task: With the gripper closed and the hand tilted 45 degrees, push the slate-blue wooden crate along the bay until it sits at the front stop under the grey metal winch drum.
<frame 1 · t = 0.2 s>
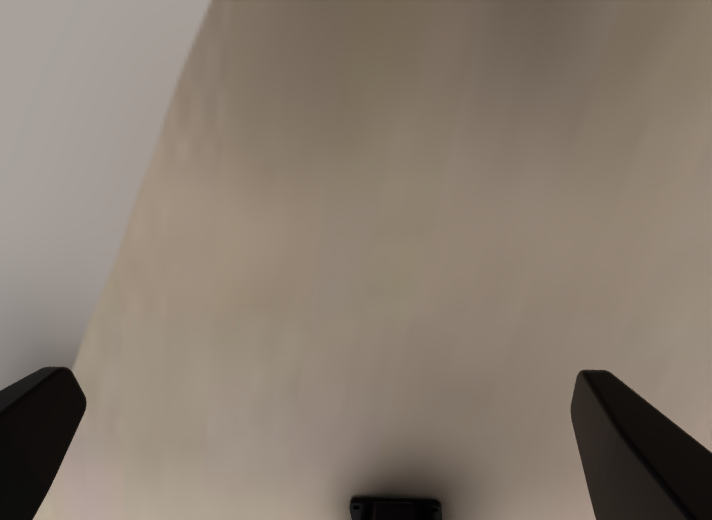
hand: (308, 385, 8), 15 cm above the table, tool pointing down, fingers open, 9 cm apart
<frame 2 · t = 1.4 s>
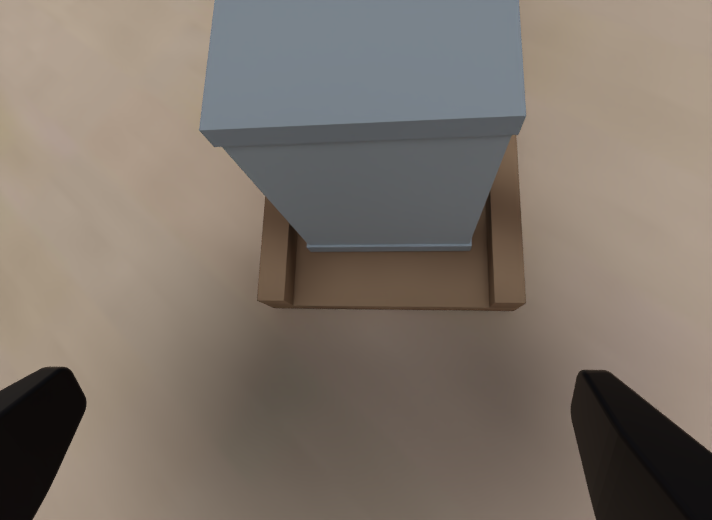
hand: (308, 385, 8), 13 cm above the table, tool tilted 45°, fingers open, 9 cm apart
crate: (379, 126, 16), point 7 cm above the table, slide at 0.0 cm
bay: (392, 124, 24), on the table
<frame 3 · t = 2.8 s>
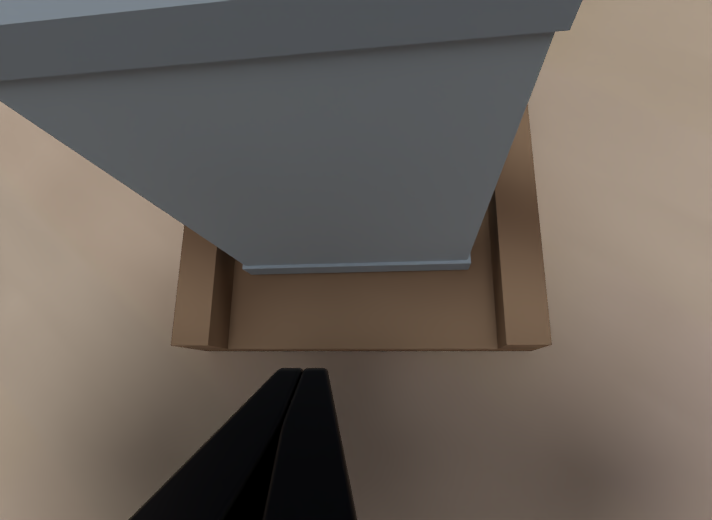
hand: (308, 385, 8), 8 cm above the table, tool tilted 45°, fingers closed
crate: (325, 86, 11), point 7 cm above the table, slide at 0.0 cm
bay: (362, 106, 18), on the table
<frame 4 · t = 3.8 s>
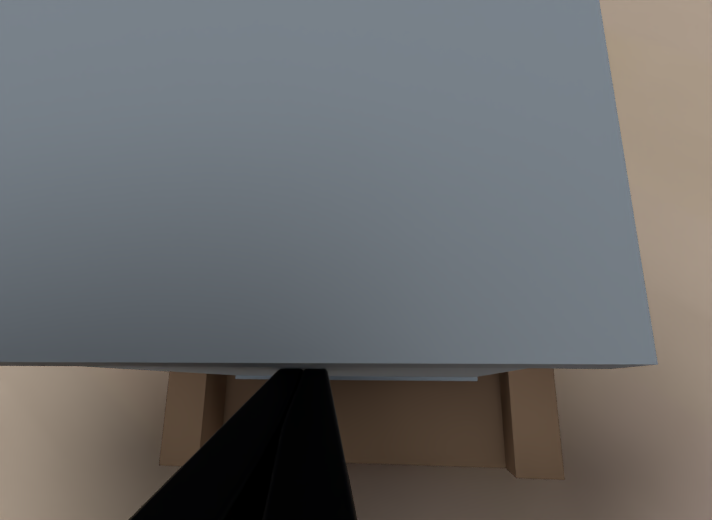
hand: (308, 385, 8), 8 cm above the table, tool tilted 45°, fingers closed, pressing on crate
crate: (322, 227, 10), point 7 cm above the table, slide at 0.0 cm, touching gripper
bay: (362, 187, 17), on the table
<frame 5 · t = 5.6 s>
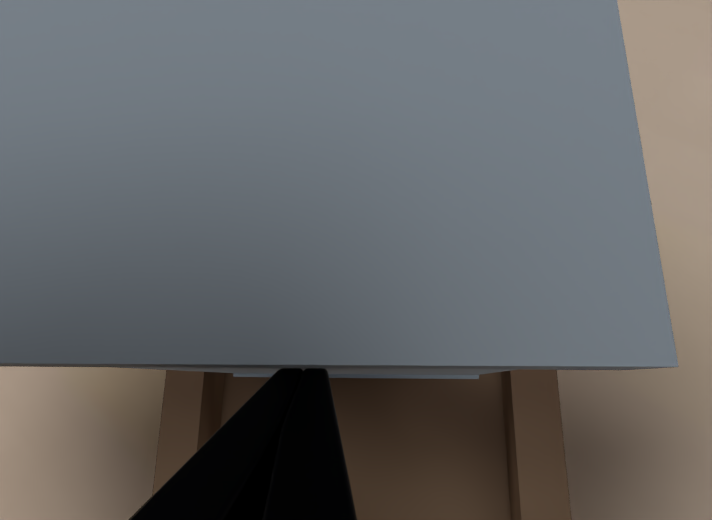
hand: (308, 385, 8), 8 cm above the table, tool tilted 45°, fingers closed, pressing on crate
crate: (321, 222, 10), point 7 cm above the table, slide at 7.6 cm, touching gripper
bay: (361, 393, 15), on the table
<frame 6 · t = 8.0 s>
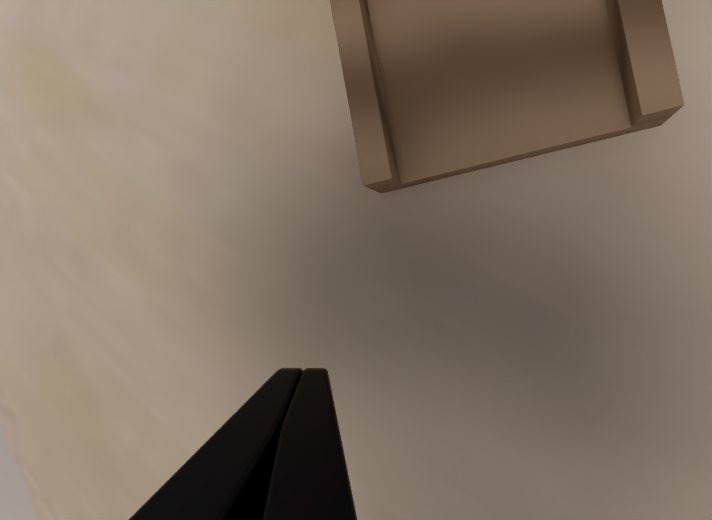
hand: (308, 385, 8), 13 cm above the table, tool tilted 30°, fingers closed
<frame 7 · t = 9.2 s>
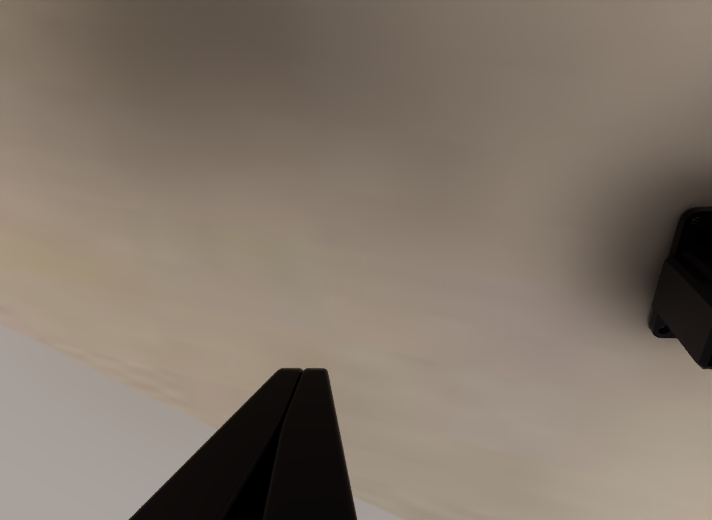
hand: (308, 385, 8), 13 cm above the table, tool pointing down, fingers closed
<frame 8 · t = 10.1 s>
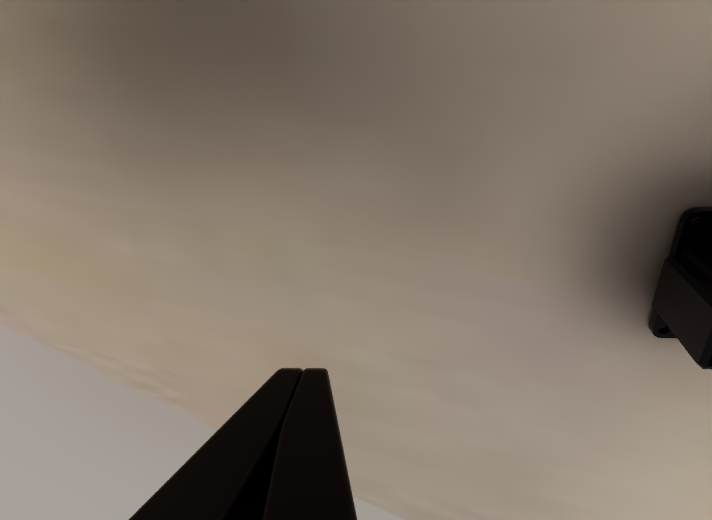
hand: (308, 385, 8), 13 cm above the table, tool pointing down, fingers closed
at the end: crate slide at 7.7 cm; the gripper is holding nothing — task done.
